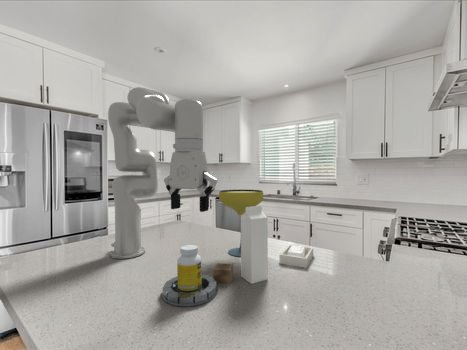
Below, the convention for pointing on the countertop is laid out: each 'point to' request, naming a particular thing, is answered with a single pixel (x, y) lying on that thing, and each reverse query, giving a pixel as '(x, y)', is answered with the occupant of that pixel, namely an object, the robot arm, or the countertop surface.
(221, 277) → the walnut block
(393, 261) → the countertop surface
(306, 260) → the soap dish
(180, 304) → the collar
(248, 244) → the milk
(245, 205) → the cocktail glass
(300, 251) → the soap
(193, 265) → the pill bottle
